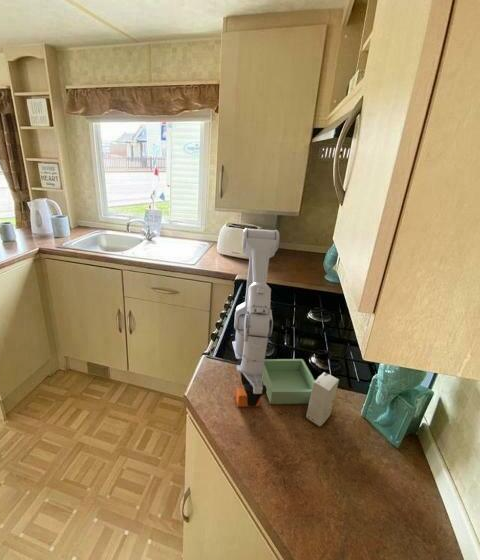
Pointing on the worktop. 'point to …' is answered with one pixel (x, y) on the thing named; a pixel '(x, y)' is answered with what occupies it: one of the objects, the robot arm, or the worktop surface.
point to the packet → (243, 398)
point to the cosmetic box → (322, 398)
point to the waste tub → (287, 381)
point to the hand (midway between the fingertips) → (248, 394)
